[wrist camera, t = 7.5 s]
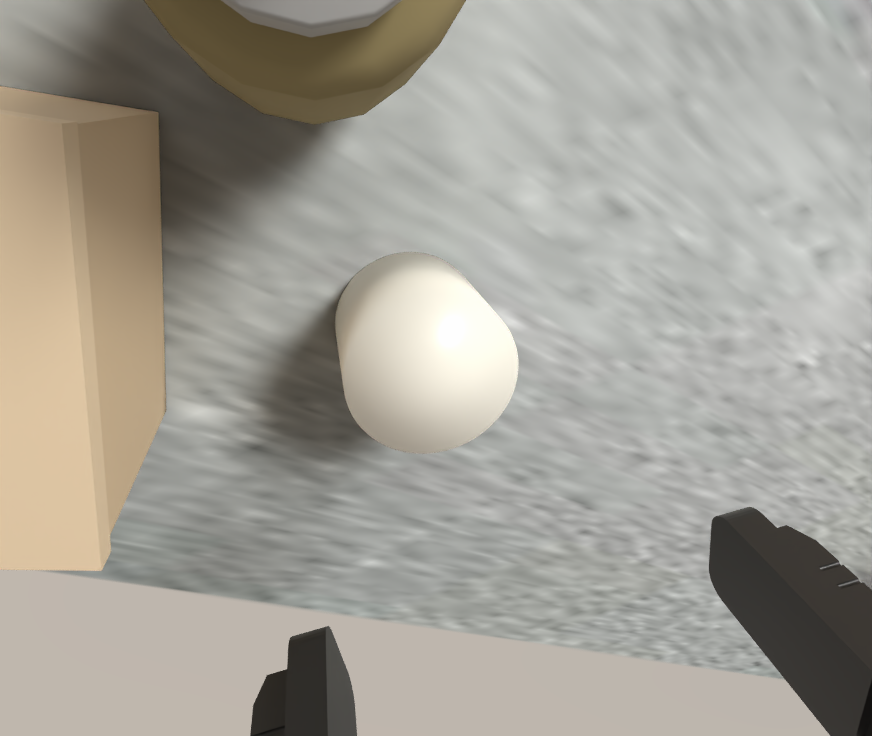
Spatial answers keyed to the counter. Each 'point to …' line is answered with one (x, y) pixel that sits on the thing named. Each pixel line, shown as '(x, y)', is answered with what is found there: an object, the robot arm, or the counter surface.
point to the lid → (47, 356)
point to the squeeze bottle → (308, 49)
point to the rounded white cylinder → (422, 354)
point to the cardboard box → (119, 271)
